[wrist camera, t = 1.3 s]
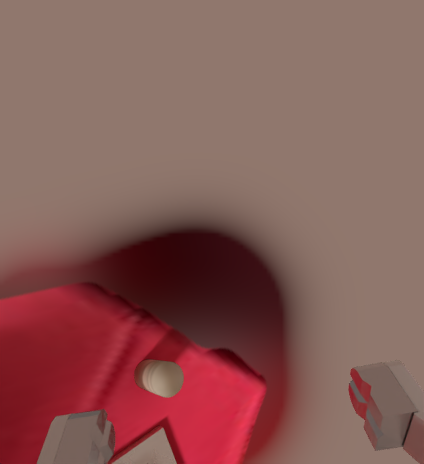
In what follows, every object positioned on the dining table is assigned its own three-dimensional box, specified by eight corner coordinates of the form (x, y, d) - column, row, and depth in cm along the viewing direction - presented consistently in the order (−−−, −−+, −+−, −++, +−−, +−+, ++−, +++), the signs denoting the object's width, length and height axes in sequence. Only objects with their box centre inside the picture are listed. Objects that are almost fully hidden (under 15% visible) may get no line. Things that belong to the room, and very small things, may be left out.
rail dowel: (140, 394, 44) (160, 404, 37) (130, 367, 45) (148, 371, 38) (164, 379, 47) (188, 386, 39) (154, 354, 47) (176, 355, 40)
